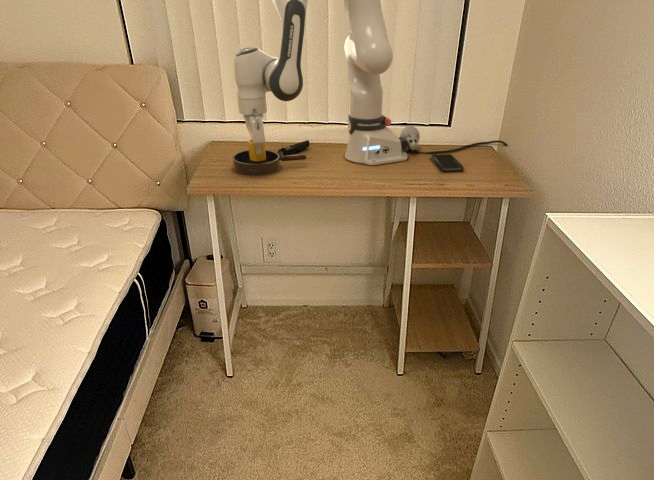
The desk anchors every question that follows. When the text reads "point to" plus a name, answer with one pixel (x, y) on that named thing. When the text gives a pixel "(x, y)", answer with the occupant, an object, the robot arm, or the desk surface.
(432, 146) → the desk surface
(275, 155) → the pan
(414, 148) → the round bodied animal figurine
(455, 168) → the phone
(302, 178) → the desk surface
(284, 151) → the electric trimmer
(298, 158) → the pan handle
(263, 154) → the yellow pepper
